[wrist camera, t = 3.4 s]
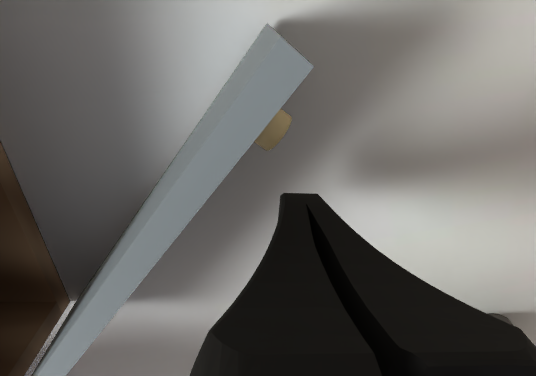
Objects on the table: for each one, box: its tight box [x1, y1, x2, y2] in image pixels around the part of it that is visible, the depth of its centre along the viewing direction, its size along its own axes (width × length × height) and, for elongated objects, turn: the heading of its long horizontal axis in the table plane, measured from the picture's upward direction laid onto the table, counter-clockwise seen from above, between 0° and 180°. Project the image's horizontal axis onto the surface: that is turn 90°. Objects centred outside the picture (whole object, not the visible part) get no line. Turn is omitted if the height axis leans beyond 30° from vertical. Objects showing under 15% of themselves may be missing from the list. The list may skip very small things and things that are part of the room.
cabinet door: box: [32, 24, 314, 376], centre depth 11 cm, size 18×2×6 cm, turn 142°
